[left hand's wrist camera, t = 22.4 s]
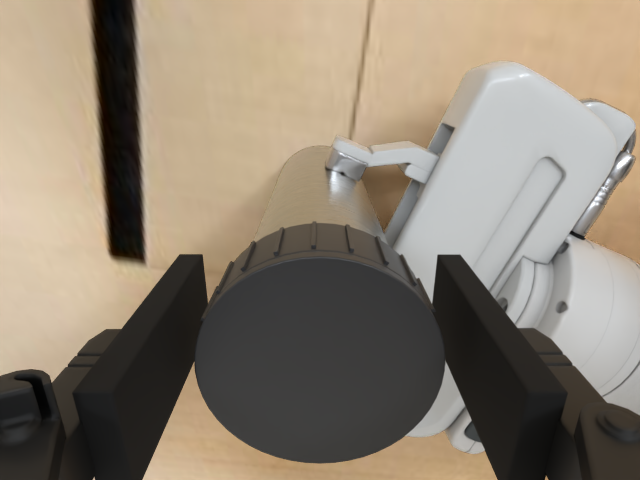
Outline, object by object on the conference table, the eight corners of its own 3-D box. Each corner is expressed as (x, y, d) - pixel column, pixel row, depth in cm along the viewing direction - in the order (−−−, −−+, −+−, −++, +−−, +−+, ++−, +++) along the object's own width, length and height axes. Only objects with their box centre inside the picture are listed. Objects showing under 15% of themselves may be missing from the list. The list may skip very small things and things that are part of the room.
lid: (180, 352, 13) (151, 408, 11) (276, 177, 11) (265, 203, 9) (353, 431, 14) (359, 496, 12) (469, 285, 12) (502, 331, 10)
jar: (291, 235, 29) (255, 441, 13) (267, 158, 27) (188, 284, 11) (369, 215, 28) (436, 403, 12) (350, 135, 26) (399, 232, 10)
